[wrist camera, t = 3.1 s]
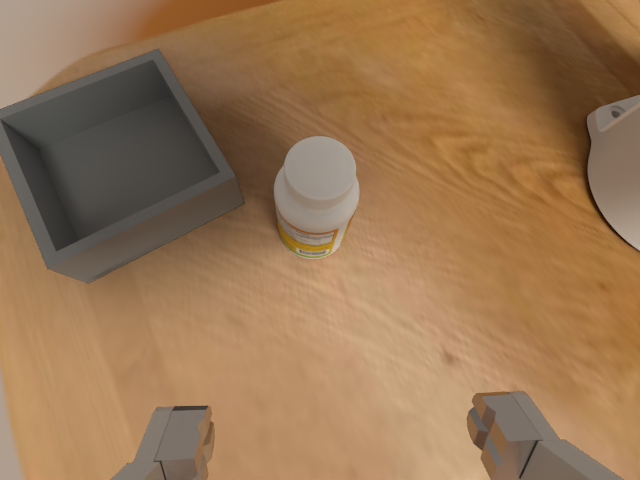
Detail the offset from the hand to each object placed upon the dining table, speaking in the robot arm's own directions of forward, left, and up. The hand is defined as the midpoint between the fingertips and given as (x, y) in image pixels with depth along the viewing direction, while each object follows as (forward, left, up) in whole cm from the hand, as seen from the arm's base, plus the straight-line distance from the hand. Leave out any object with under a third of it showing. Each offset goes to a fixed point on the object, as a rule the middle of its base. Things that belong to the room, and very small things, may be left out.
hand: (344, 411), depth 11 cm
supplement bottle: (-6, -10, -15) cm, 19 cm away
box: (+4, -21, -15) cm, 26 cm away
